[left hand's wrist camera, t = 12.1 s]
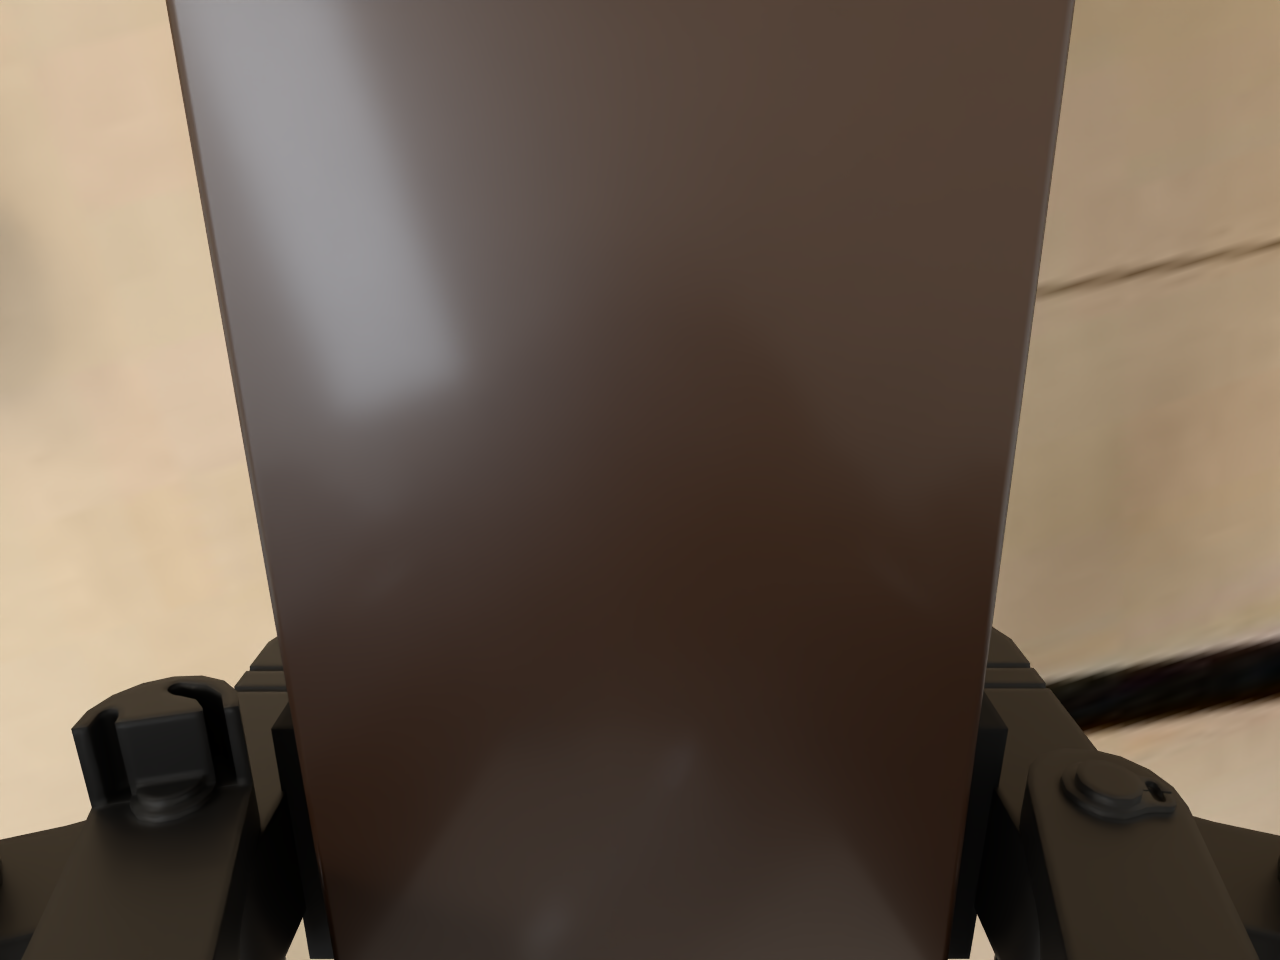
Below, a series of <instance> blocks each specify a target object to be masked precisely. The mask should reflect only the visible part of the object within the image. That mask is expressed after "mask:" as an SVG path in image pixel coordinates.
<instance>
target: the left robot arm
mask: <svg viewBox="0 0 1280 960" xmlns="http://www.w3.org/2000/svg"><path fill="white" fill-rule="evenodd" d="M1045 684H1046V683H1045V682H1044V681H1043V679H1042V678H1041V677H1040V676H1039V674H1038V673H1037V672H1036V670H1035V669H1034V668H1030V663H1029V661H1028V660H1027V659H1026V657H1025V656H1024V655H1023V654H1022V652H1021V651H1020V650H1019V648H1018V647H1017V646H1016V645H1015V643H1014V642H1013V641H1012V639H1010V638H1009V637H1007V636H1006V635H1004V634H1003V633H1001V632H999V631H998V630H996V629H995V628H993V627H992V630H991V637H990V645H989V652H988V660H987V667H986V675H985V682H984V690H983V697H982V705H981V712H980V720H979V727H978V735H977V743H976V750H975V758H974V765H973V773H972V780H971V788H970V795H969V803H968V810H967V818H966V825H965V833H964V840H963V848H962V855H961V863H960V871H959V878H958V886H957V893H956V901H955V908H954V916H953V923H952V931H951V938H950V946H949V953H948V959H969V958H970V952H971V946H972V940H973V934H974V928H975V922H976V917H977V915H978V917H979V919H980V921H981V924H982V926H983V928H984V930H985V933H986V935H987V937H988V939H989V942H990V944H991V946H992V948H993V951H994V953H995V957H994V960H1280V836H1278V835H1274V834H1269V833H1264V832H1259V831H1255V830H1250V829H1245V828H1240V827H1236V826H1231V825H1226V824H1221V823H1217V822H1212V821H1209V820H1205V819H1201V818H1198V817H1194V816H1192V814H1191V812H1190V809H1189V807H1188V806H1187V804H1186V803H1185V802H1184V800H1183V799H1182V798H1181V797H1180V795H1179V794H1178V793H1177V791H1176V790H1175V789H1174V787H1172V786H1171V785H1170V784H1168V783H1167V782H1166V781H1164V780H1163V779H1162V778H1160V777H1159V776H1157V775H1156V774H1155V773H1153V772H1152V771H1151V770H1149V769H1147V768H1145V767H1142V766H1140V765H1138V764H1136V763H1134V762H1132V761H1129V760H1127V759H1125V758H1123V757H1120V756H1116V755H1112V754H1108V753H1104V752H1100V751H1097V749H1096V748H1095V747H1094V745H1093V744H1092V743H1091V742H1090V740H1089V739H1088V738H1087V736H1086V735H1085V734H1084V732H1083V731H1082V730H1081V729H1080V727H1079V726H1078V725H1077V723H1076V722H1075V721H1074V720H1073V718H1072V717H1071V716H1070V714H1069V713H1068V712H1067V710H1066V709H1065V708H1064V707H1063V705H1062V704H1061V703H1060V701H1059V700H1058V699H1057V698H1056V696H1055V695H1054V694H1053V692H1052V691H1051V690H1050V689H1046V686H1045ZM234 688H235V689H234ZM234 688H233V687H231V686H230V685H229V684H228V683H226V682H225V681H223V680H219V679H215V678H210V677H206V676H177V677H170V678H165V679H160V680H156V681H151V682H147V683H142V684H140V685H137V686H135V687H132V688H130V689H127V690H125V691H122V692H120V693H117V694H114V695H112V696H111V697H109V698H107V699H106V700H104V701H103V702H101V703H99V704H98V705H96V706H95V707H93V708H92V709H90V710H88V711H87V712H86V713H85V714H84V715H83V716H82V718H81V719H80V720H79V721H78V722H77V723H76V724H75V725H74V727H73V728H72V729H71V730H72V734H73V737H74V741H75V745H76V749H77V753H78V756H79V760H80V764H81V768H82V772H83V775H84V779H85V783H86V787H87V791H88V795H89V798H90V802H91V806H92V809H91V811H90V813H89V815H88V817H87V820H85V821H82V822H78V823H75V824H71V825H67V826H63V827H58V828H54V829H49V830H44V831H39V832H35V833H30V834H25V835H21V836H16V837H11V838H6V839H2V840H0V960H286V957H285V956H286V954H287V952H288V949H289V947H290V945H291V943H292V940H293V938H294V936H295V934H296V931H297V929H298V927H299V925H300V922H301V920H302V918H303V920H304V926H305V932H306V938H307V944H308V950H309V955H310V959H334V956H333V950H332V944H331V938H330V933H329V927H328V921H327V916H326V910H325V904H324V899H323V893H322V887H321V881H320V876H319V870H318V864H317V859H316V853H315V847H314V842H313V836H312V830H311V825H310V819H309V813H308V807H307V802H306V796H305V790H304V785H303V779H302V773H301V768H300V762H299V756H298V751H297V745H296V739H295V733H294V728H293V722H292V716H291V711H290V705H289V699H288V694H287V688H286V682H285V677H284V671H283V665H282V659H281V654H280V648H279V642H278V637H276V638H274V639H273V640H271V641H270V642H268V644H267V645H266V646H265V647H264V649H263V650H262V651H261V653H260V654H259V655H258V657H257V658H256V659H255V660H254V662H253V663H252V664H251V666H250V671H246V672H245V673H244V675H243V676H242V677H241V679H240V680H239V681H238V683H237V684H236V685H235V686H234Z"/></svg>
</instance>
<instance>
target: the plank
mask: <svg viewBox="0 0 1280 960" xmlns="http://www.w3.org/2000/svg"><path fill="white" fill-rule="evenodd" d="M166 5H167V11H168V16H169V22H170V28H171V33H172V39H173V45H174V50H175V56H176V62H177V67H178V73H179V79H180V85H181V90H182V96H183V102H184V107H185V113H186V119H187V124H188V130H189V136H190V141H191V147H192V153H193V159H194V164H195V170H196V176H197V181H198V187H199V193H200V198H201V204H202V210H203V215H204V221H205V227H206V233H207V238H208V244H209V250H210V255H211V261H212V267H213V272H214V278H215V284H216V289H217V295H218V301H219V307H220V312H221V318H222V324H223V329H224V335H225V341H226V346H227V352H228V358H229V363H230V369H231V375H232V381H233V386H234V392H235V398H236V403H237V409H238V415H239V420H240V426H241V432H242V437H243V443H244V449H245V455H246V460H247V466H248V472H249V477H250V483H251V489H252V494H253V500H254V506H255V511H256V517H257V523H258V529H259V534H260V540H261V546H262V551H263V557H264V563H265V568H266V574H267V580H268V585H269V591H270V597H271V603H272V608H273V614H274V620H275V625H276V631H277V637H278V642H279V648H280V654H281V659H282V665H283V671H284V677H285V682H286V688H287V694H288V699H289V705H290V711H291V716H292V722H293V728H294V733H295V739H296V745H297V751H298V756H299V762H300V768H301V773H302V779H303V785H304V790H305V796H306V802H307V807H308V813H309V819H310V825H311V830H312V836H313V842H314V847H315V853H316V859H317V864H318V870H319V876H320V881H321V887H322V893H323V899H324V904H325V910H326V916H327V921H328V927H329V933H330V938H331V944H332V950H333V956H334V960H948V953H949V946H950V938H951V931H952V923H953V916H954V908H955V901H956V893H957V886H958V878H959V871H960V863H961V855H962V848H963V840H964V833H965V825H966V818H967V810H968V803H969V795H970V788H971V780H972V773H973V765H974V758H975V750H976V743H977V735H978V727H979V720H980V712H981V705H982V697H983V690H984V682H985V675H986V667H987V660H988V652H989V645H990V637H991V630H992V622H993V615H994V607H995V600H996V592H997V584H998V577H999V569H1000V562H1001V554H1002V547H1003V539H1004V532H1005V524H1006V517H1007V509H1008V502H1009V494H1010V487H1011V479H1012V472H1013V464H1014V457H1015V449H1016V441H1017V434H1018V426H1019V419H1020V411H1021V404H1022V396H1023V389H1024V381H1025V374H1026V366H1027V359H1028V351H1029V344H1030V336H1031V329H1032V321H1033V313H1034V306H1035V298H1036V291H1037V283H1038V276H1039V268H1040V261H1041V253H1042V246H1043V238H1044V231H1045V223H1046V216H1047V208H1048V201H1049V193H1050V186H1051V178H1052V170H1053V163H1054V155H1055V148H1056V140H1057V133H1058V125H1059V118H1060V110H1061V103H1062V95H1063V88H1064V80H1065V73H1066V65H1067V58H1068V50H1069V43H1070V35H1071V27H1072V20H1073V12H1074V5H1075V0H166Z"/></svg>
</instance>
